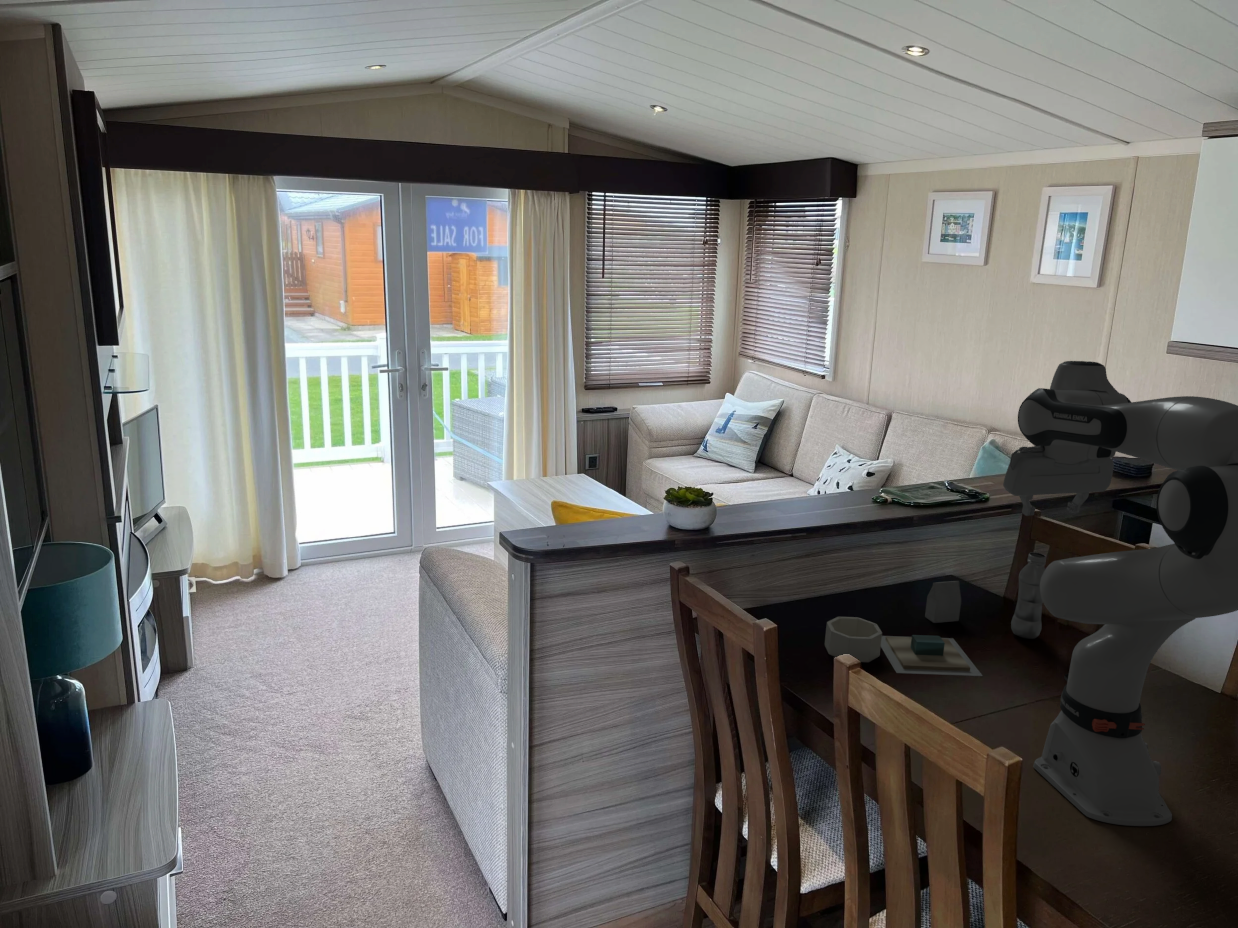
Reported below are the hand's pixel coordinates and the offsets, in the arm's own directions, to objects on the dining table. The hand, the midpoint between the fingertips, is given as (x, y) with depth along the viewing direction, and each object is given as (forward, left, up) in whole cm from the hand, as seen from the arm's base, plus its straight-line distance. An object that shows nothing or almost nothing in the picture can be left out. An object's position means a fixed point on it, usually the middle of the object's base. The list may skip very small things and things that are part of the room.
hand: (1050, 513), depth 174 cm
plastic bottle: (+29, -13, -39) cm, 50 cm away
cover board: (+16, +14, -38) cm, 44 cm away
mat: (+16, +14, -39) cm, 44 cm away
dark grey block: (+36, +4, -39) cm, 53 cm away
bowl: (+17, +30, -39) cm, 52 cm away
